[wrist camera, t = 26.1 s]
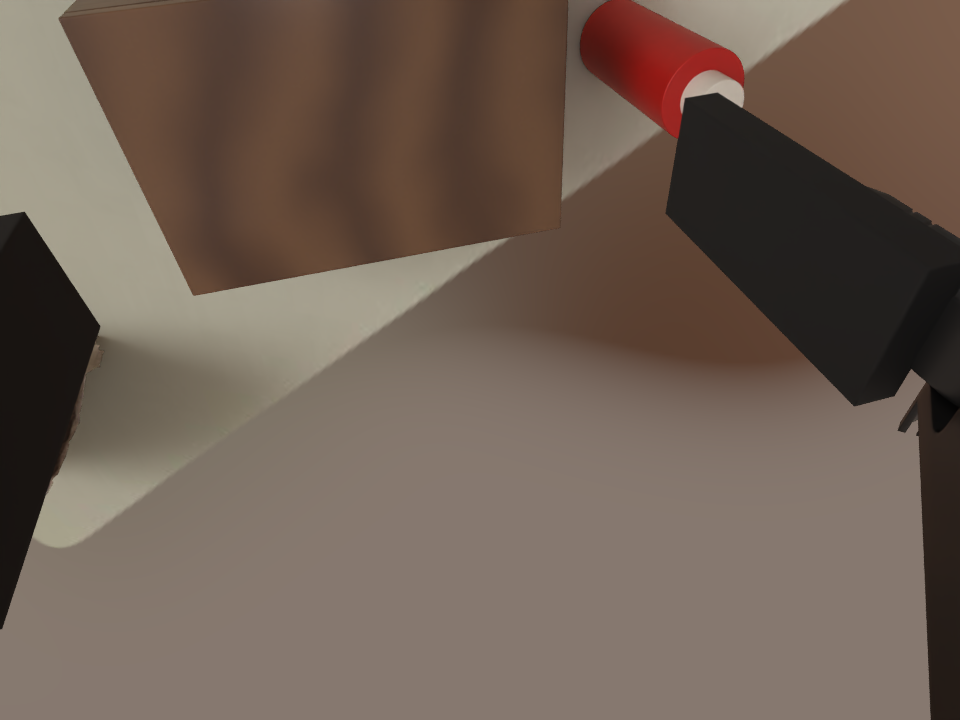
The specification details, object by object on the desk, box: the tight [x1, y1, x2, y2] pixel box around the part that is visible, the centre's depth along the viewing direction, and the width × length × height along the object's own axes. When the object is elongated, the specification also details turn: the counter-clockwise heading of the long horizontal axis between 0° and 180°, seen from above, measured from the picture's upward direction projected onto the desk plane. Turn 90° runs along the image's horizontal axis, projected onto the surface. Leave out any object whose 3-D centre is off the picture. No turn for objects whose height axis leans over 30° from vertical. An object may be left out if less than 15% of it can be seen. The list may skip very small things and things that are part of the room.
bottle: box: [580, 0, 744, 139], centre depth 34 cm, size 5×5×13 cm
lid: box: [59, 0, 568, 296], centre depth 29 cm, size 21×13×1 cm, turn 94°
